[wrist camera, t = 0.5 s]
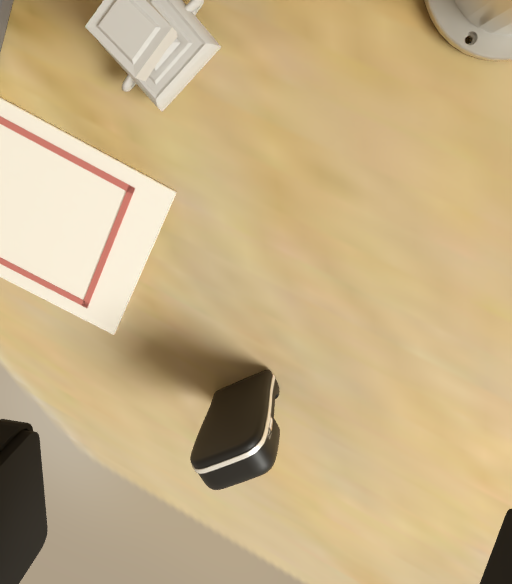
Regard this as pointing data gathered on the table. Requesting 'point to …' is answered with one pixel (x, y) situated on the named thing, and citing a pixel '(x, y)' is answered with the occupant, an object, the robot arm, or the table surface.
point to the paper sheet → (73, 219)
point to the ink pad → (4, 17)
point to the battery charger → (238, 433)
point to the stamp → (154, 43)
